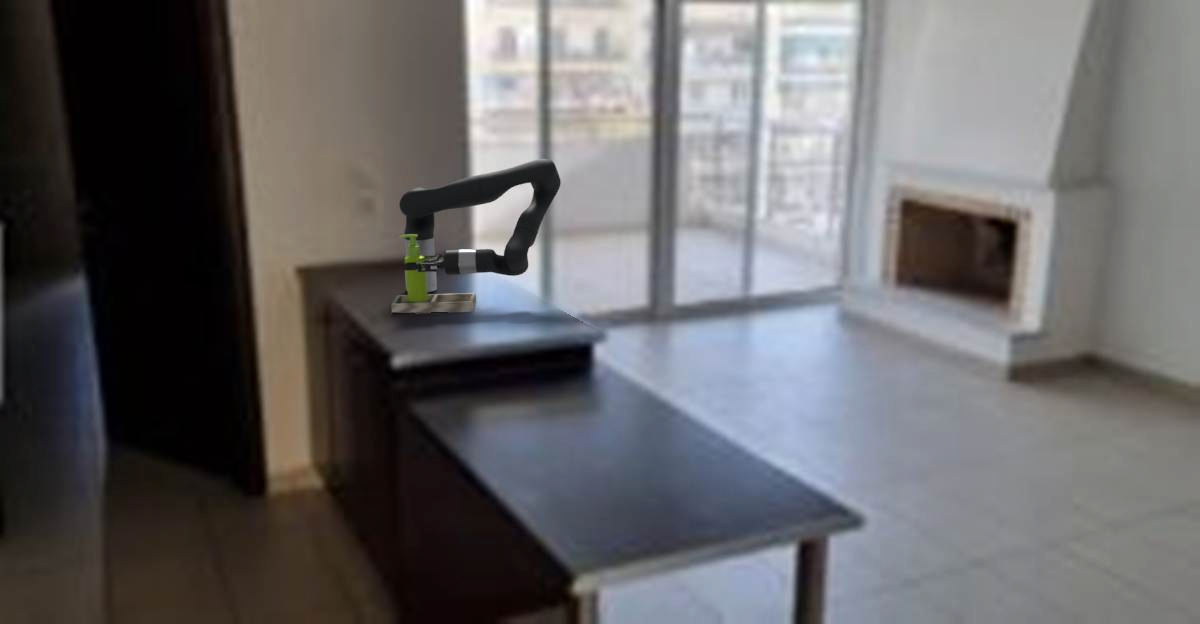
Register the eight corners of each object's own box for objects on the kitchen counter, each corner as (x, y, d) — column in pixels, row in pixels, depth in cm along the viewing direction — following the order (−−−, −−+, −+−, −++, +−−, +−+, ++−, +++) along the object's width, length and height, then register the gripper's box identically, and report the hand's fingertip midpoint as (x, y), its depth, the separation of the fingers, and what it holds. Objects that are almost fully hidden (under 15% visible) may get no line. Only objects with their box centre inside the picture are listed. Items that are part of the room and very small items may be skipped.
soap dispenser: (405, 298, 317) (400, 233, 312) (428, 297, 318) (423, 232, 313) (404, 302, 312) (398, 236, 307) (427, 301, 312) (421, 235, 307)
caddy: (391, 314, 309) (391, 304, 309) (398, 304, 321) (397, 295, 320) (472, 311, 310) (472, 301, 309) (476, 302, 322) (475, 292, 321)
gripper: (462, 245, 318) (407, 247, 318) (458, 254, 304) (400, 256, 304) (464, 269, 320) (409, 271, 320) (459, 279, 306) (402, 281, 306)
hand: (405, 264), depth 312 cm, fingers closed on soap dispenser, 6 cm apart
